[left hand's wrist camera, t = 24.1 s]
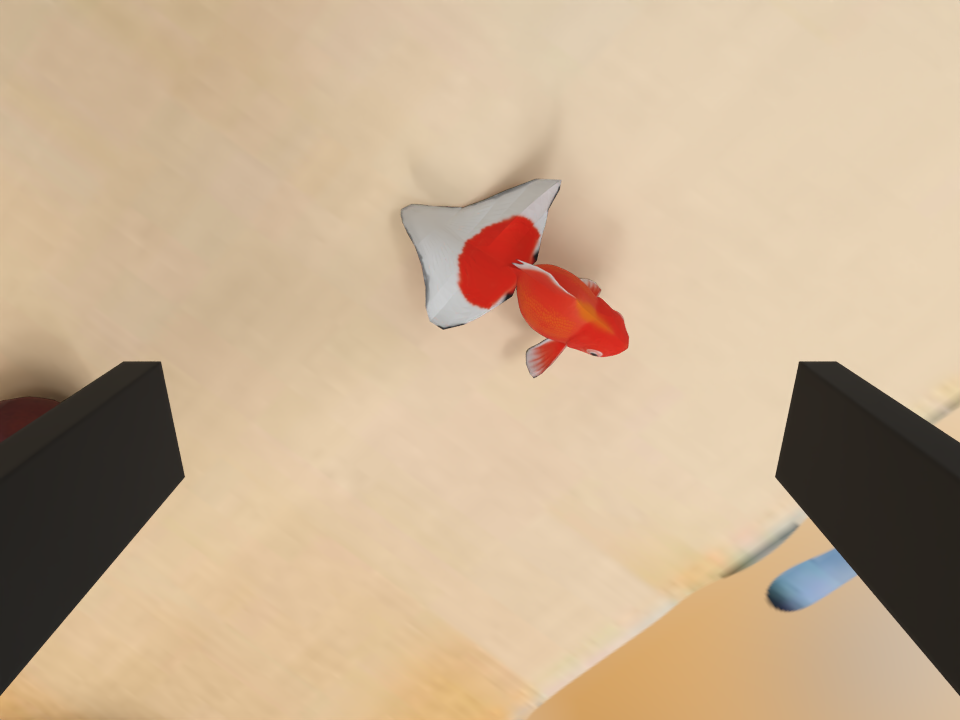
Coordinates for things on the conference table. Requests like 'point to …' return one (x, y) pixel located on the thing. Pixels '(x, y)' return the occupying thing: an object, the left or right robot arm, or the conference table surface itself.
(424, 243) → the fish
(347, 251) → the conference table surface
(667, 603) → the conference table surface
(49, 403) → the dark maroon ball
